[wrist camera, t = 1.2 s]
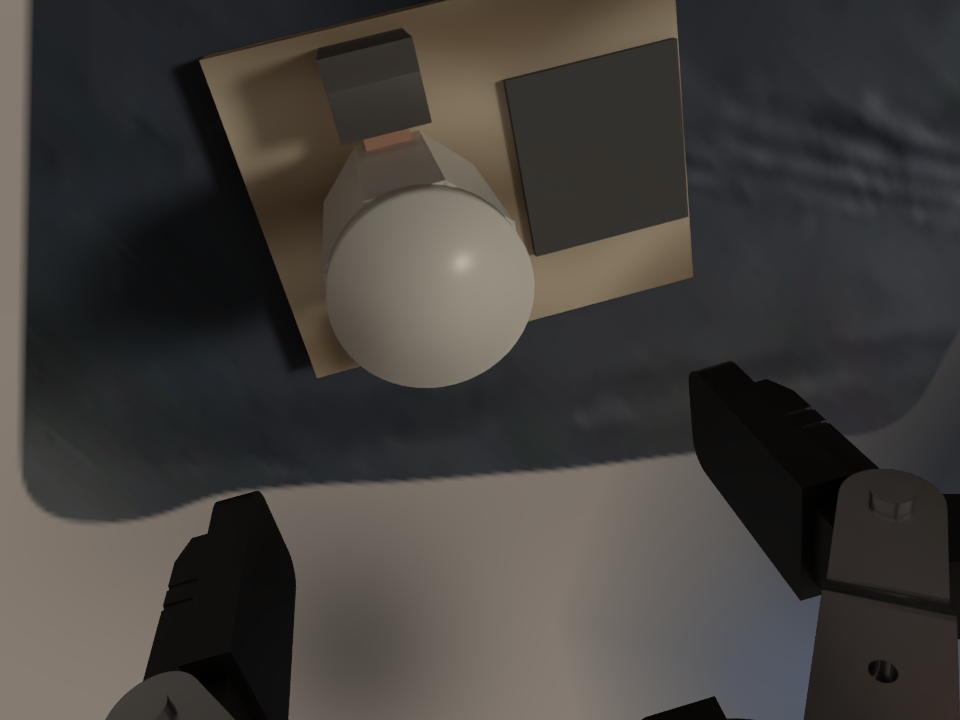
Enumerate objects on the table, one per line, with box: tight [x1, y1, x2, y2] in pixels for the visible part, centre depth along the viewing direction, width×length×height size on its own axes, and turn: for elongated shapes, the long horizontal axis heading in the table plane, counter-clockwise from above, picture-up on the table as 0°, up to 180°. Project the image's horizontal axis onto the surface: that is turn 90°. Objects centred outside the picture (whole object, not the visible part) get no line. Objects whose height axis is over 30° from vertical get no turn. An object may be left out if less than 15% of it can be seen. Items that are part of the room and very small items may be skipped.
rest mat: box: [503, 37, 688, 257], centre depth 29 cm, size 7×7×1 cm
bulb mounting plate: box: [199, 0, 693, 388], centre depth 26 cm, size 13×17×10 cm
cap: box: [322, 128, 535, 388], centre depth 24 cm, size 9×6×8 cm, turn 12°
